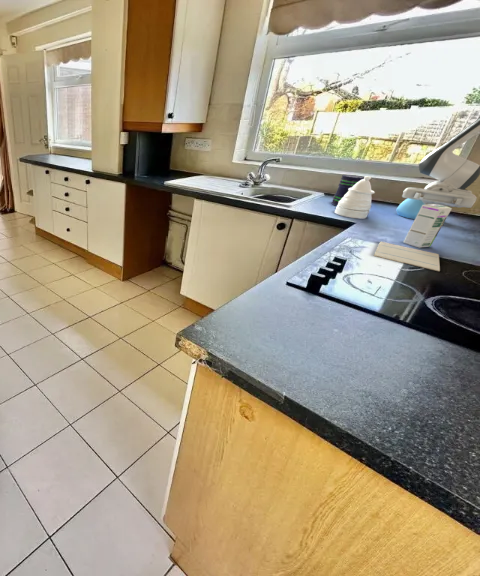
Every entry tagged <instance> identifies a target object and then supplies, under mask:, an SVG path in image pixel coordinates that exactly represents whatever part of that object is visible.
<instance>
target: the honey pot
mask: <svg viewBox="0 0 480 576" xmlns="http://www.w3.org/2000/svg"><path fill="white" fill-rule="evenodd" d="M363 177H364V179H362V180H360V181H359V182H357V183H356V184H355V185H354V186H353V187H352V188H349V189H348V190H349V191H348V192H347V193H346V194H345V195H344V197H343V198H342V199H341V200H340V201H339V203H338V205H336V208H335V210H334V214H336V215H338V216H341V217H345V218H346V217H347V218H352V219H361V220H362V219H367V218H368V215H369V214H370V211H371V209H372V200H373V198H372V195H373V194H375V193H376V191H375V190H372V185H371V182H370V180H371V179H372V176H369V175H365V176H363Z"/></svg>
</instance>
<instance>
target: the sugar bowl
mask: <svg viewBox="0 0 480 576" xmlns="http://www.w3.org/2000/svg"><path fill="white" fill-rule="evenodd" d="M422 205H426V204H424V203H423V202H422V200H415V199H409V198H405V199H404V200H403V201H402V202H401V203H399V205H398V206H397V208H396V213H397V215H398V216H400V217H403V218H407V219H410V220H415V218H416V217H417V215H418V213H419V211H420V209H421V207H422Z"/></svg>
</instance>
